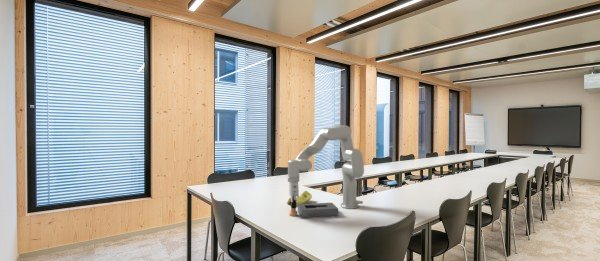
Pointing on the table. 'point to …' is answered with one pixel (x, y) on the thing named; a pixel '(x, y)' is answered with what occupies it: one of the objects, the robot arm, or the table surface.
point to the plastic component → (302, 198)
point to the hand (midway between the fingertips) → (293, 207)
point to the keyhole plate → (317, 210)
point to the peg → (293, 211)
